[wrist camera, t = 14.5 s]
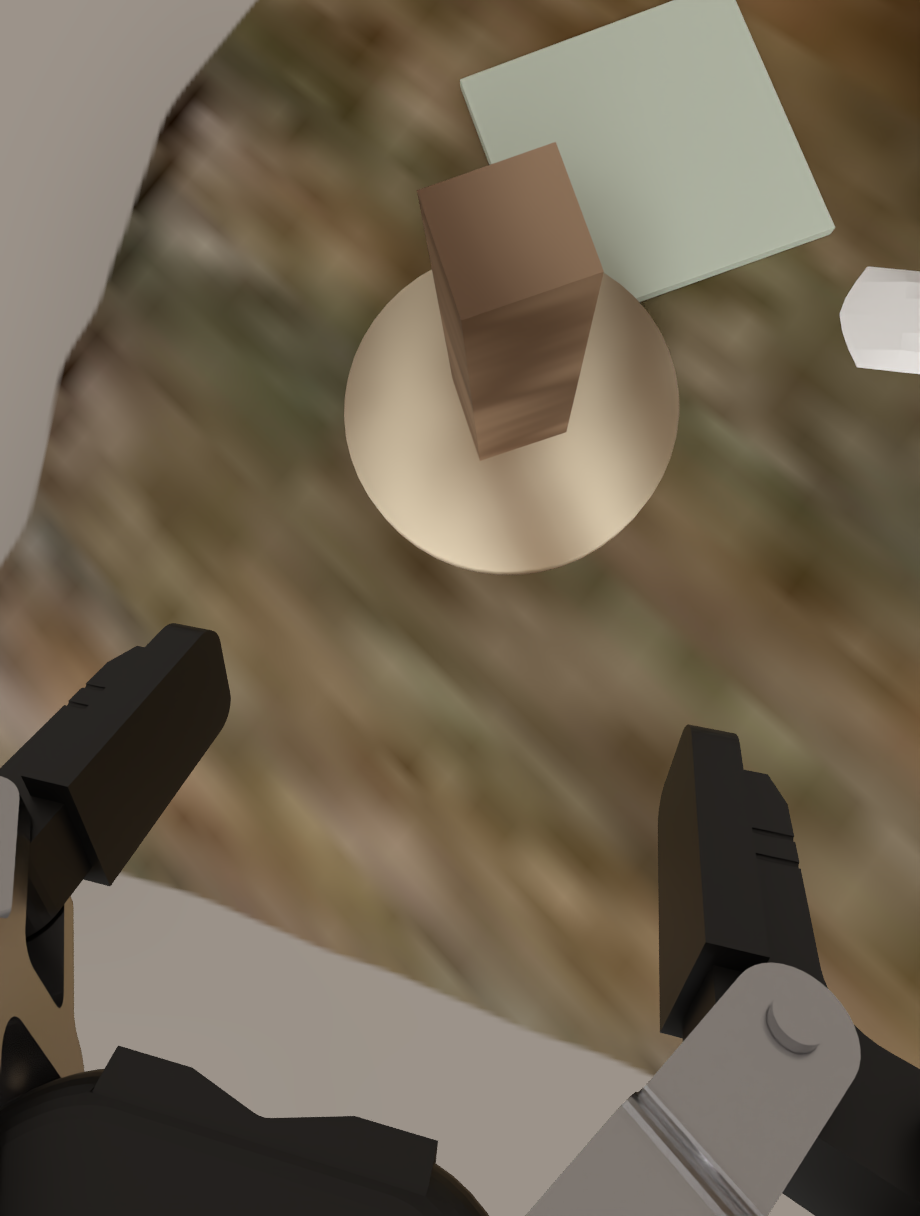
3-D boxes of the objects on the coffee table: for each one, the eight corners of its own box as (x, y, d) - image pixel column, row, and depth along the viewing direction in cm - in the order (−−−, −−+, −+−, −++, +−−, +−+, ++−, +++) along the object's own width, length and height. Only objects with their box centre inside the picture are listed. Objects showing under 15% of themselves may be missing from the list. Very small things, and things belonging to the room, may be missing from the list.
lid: (609, 223, 28) (678, -91, 17) (718, 515, 27) (878, 390, 15) (313, 325, 29) (182, 88, 17) (404, 618, 27) (327, 573, 16)
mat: (723, -10, 34) (726, -20, 34) (830, 234, 33) (835, 227, 32) (460, 88, 35) (459, 79, 34) (552, 333, 33) (553, 327, 33)
